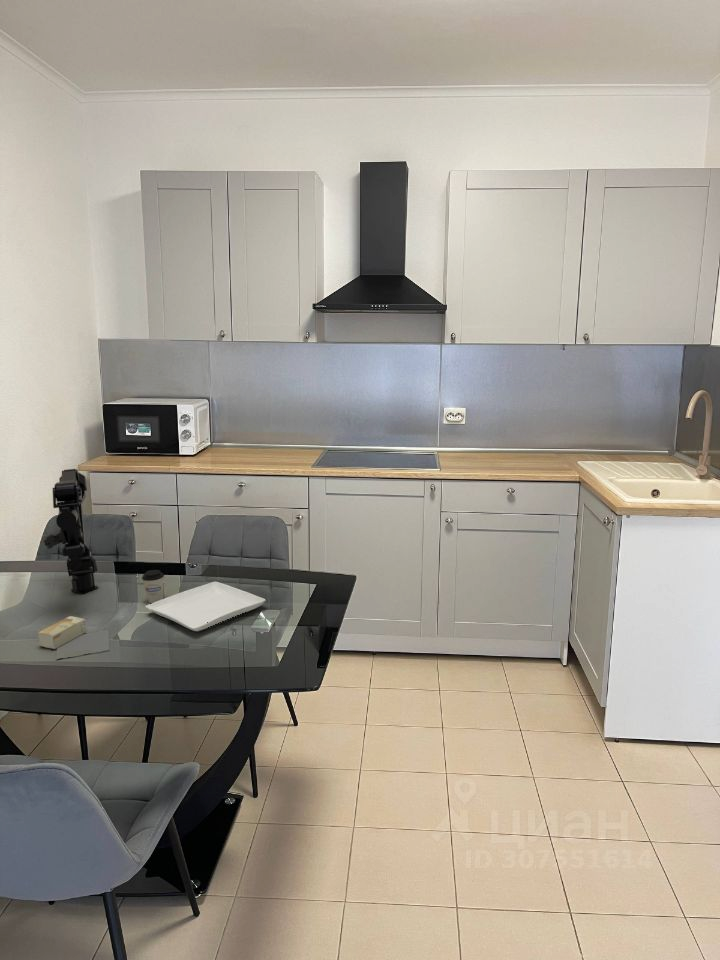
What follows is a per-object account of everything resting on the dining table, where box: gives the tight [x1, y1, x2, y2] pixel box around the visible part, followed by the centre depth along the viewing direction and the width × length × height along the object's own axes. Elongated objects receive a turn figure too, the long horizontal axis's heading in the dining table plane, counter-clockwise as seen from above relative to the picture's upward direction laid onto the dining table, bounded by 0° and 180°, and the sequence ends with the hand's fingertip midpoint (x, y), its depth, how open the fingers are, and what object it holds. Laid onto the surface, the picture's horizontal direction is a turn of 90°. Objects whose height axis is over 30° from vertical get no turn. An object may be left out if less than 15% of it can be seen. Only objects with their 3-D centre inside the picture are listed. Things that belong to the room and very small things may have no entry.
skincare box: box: [37, 615, 87, 650], centre depth 213 cm, size 6×4×12 cm
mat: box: [56, 629, 110, 653], centre depth 210 cm, size 14×14×1 cm
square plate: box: [145, 581, 267, 632], centre depth 230 cm, size 27×27×4 cm
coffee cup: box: [141, 569, 165, 604], centre depth 238 cm, size 7×7×10 cm
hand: (76, 568), depth 234 cm, fingers closed
